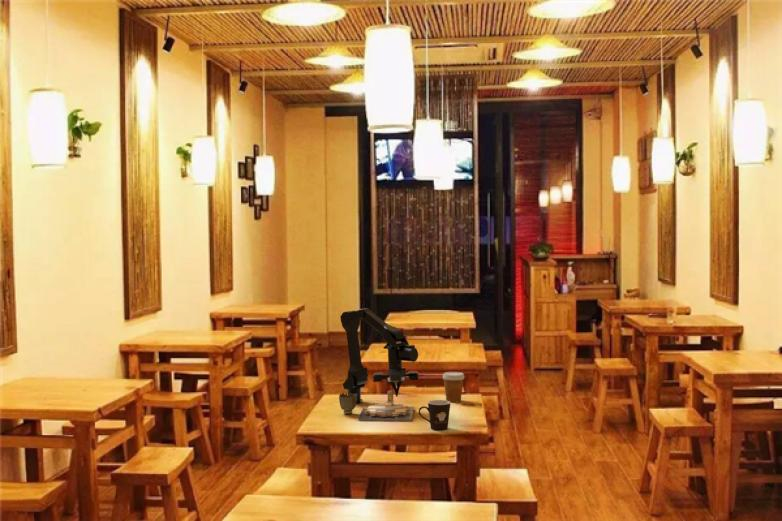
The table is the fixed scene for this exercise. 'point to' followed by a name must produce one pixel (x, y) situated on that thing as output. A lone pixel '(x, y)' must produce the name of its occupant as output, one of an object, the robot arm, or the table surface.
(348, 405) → the cup
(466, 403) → the table surface
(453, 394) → the disposable coffee cup
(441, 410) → the coffee mug
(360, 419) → the base plate
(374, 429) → the table surface
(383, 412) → the index wheel
